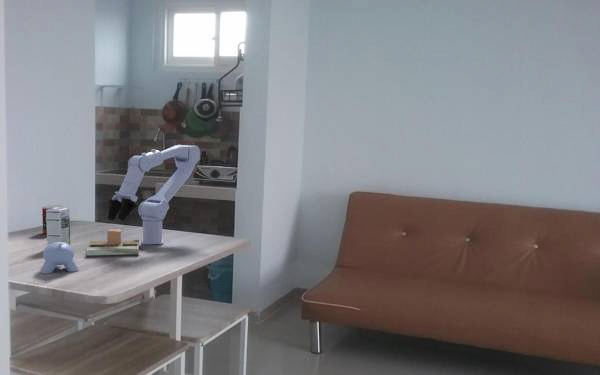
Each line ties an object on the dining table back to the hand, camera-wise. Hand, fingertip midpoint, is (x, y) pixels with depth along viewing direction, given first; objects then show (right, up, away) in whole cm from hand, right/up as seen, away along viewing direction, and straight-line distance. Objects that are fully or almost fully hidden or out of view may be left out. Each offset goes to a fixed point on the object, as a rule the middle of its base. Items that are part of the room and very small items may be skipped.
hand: (115, 219), depth 216 cm
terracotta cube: (-1, -9, +1) cm, 9 cm away
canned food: (-35, -7, +30) cm, 47 cm away
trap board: (0, -11, -1) cm, 11 cm away
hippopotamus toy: (-9, -14, -28) cm, 32 cm away
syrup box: (-21, -11, +2) cm, 24 cm away
